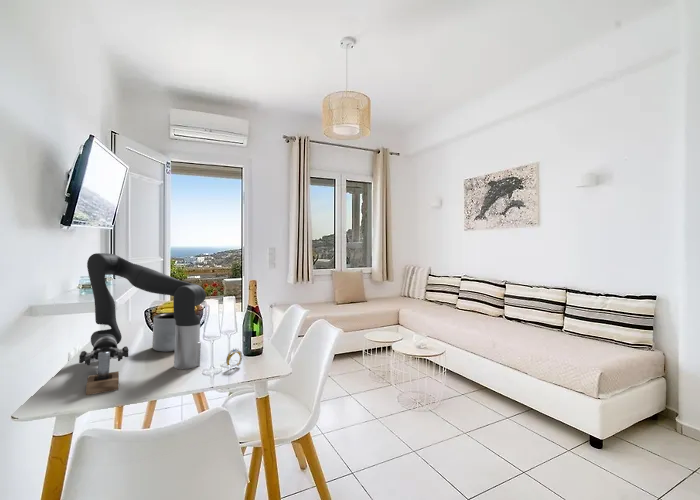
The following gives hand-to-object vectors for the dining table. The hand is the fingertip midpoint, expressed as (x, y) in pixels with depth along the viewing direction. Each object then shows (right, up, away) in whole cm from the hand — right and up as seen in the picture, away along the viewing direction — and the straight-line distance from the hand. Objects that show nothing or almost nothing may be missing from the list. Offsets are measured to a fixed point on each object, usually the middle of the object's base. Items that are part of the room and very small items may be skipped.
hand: (104, 360), depth 117 cm
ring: (+37, -11, +22) cm, 45 cm away
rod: (+1, -9, -1) cm, 9 cm away
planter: (-1, -9, +46) cm, 47 cm away
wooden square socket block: (+1, -9, -1) cm, 9 cm away
